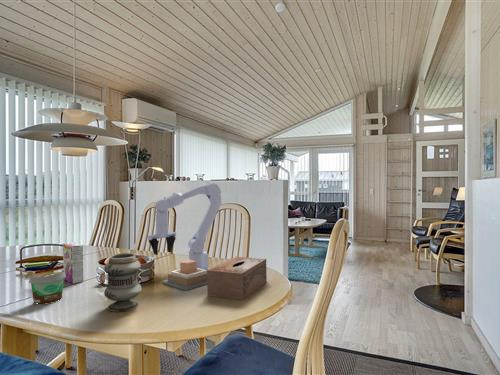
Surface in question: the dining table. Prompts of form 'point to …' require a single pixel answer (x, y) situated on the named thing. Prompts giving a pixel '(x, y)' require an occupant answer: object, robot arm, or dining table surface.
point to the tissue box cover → (236, 277)
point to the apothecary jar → (122, 281)
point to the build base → (187, 279)
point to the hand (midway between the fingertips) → (162, 253)
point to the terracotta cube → (188, 267)
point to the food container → (47, 287)
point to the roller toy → (102, 277)
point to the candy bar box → (73, 262)
